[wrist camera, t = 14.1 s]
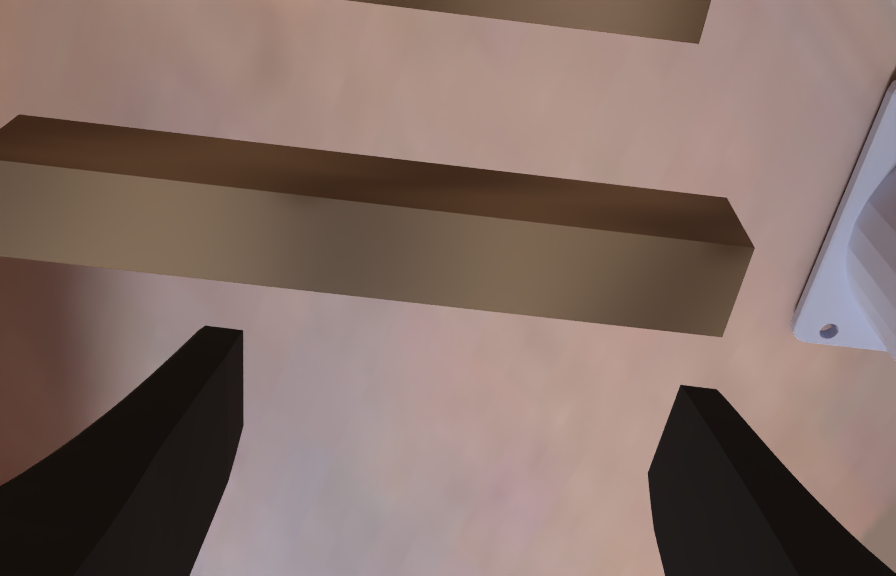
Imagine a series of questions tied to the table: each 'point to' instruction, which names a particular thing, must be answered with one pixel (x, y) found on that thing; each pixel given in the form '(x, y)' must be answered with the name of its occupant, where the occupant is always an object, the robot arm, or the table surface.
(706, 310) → the brown rectangular block
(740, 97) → the table surface
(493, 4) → the open wooden tray
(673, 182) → the table surface
